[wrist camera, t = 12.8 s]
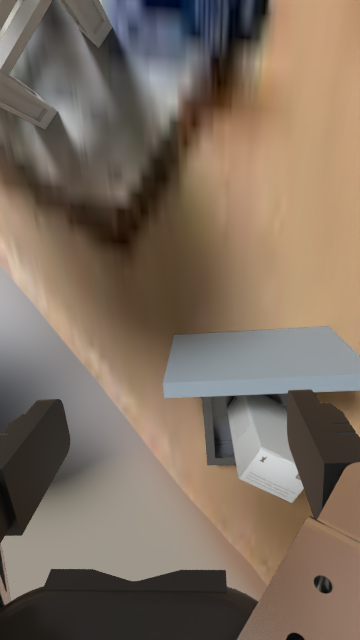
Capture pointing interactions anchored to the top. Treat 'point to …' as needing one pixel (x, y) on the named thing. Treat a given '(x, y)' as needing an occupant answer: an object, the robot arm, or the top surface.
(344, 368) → the backboard
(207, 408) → the grey open tray
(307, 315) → the top surface
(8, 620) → the robot arm
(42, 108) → the stool
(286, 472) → the skincare box
